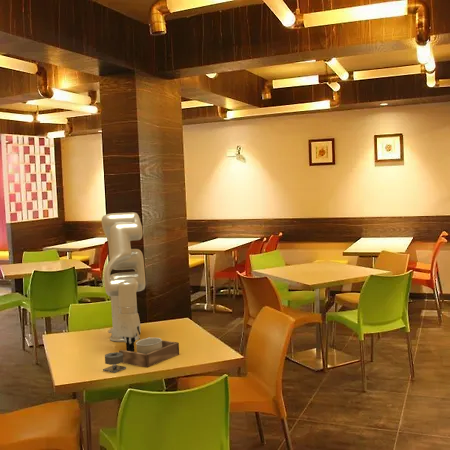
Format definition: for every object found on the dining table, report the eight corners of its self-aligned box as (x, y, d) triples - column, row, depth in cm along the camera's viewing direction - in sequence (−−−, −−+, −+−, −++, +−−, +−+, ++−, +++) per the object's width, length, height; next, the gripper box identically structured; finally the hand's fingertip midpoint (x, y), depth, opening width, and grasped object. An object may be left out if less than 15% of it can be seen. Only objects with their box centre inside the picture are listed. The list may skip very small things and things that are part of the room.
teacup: (160, 363, 240) (159, 343, 239) (134, 363, 240) (133, 344, 240) (165, 353, 254) (165, 335, 253) (141, 353, 254) (140, 335, 254)
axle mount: (103, 370, 233) (102, 362, 233) (114, 366, 238) (114, 357, 238) (114, 372, 229) (114, 364, 229) (126, 368, 235) (125, 359, 234)
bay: (119, 362, 243) (118, 350, 243) (152, 349, 260) (151, 338, 259) (147, 367, 234) (146, 355, 234) (179, 354, 251) (178, 342, 251)
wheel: (101, 363, 233) (101, 356, 232) (114, 358, 238) (113, 351, 238) (114, 365, 229) (113, 358, 228) (126, 360, 234) (126, 353, 234)
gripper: (109, 310, 253) (111, 352, 254) (135, 313, 245) (137, 356, 246) (121, 306, 259) (123, 347, 261) (147, 309, 251) (149, 351, 252)
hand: (130, 351), depth 253 cm, fingers closed
